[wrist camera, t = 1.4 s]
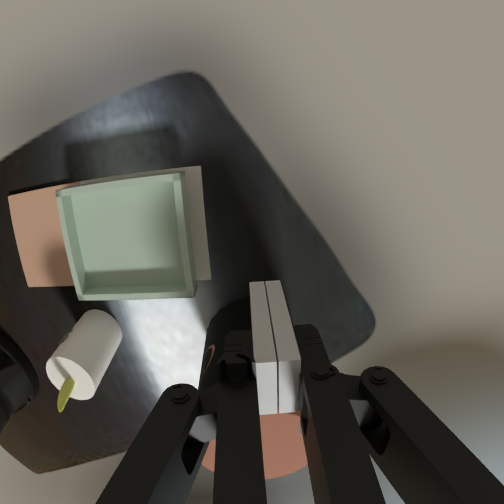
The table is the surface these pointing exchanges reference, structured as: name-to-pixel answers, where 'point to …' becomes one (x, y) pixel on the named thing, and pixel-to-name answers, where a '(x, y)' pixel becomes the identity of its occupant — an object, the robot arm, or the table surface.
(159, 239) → the mint green tray
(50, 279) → the board
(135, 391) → the table surface
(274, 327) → the robot arm
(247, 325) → the coffee jar
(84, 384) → the candle
